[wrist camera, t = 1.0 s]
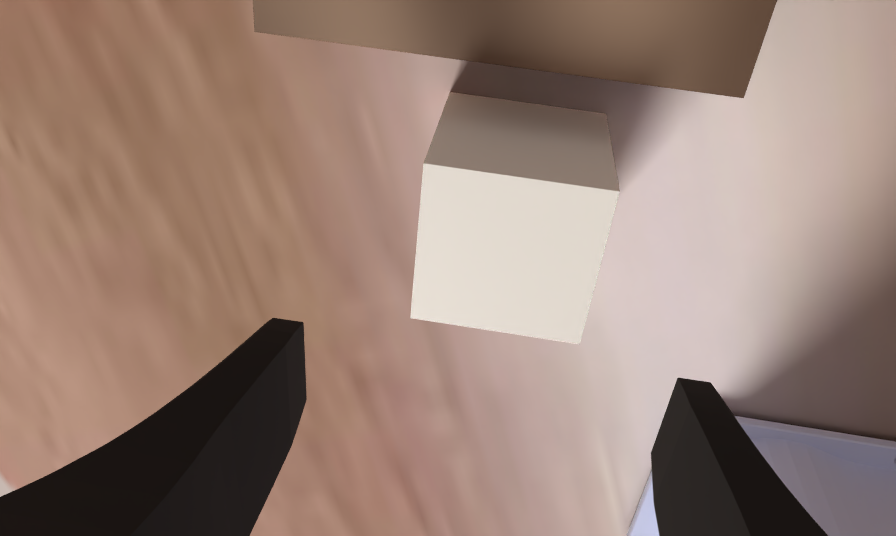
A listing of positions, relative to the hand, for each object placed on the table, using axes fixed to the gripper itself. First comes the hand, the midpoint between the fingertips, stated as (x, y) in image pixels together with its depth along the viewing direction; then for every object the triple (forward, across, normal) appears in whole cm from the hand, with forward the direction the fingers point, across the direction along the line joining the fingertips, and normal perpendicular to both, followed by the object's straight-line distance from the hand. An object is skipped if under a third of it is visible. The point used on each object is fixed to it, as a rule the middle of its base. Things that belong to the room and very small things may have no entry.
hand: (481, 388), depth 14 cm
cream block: (+10, 0, 0) cm, 10 cm away
